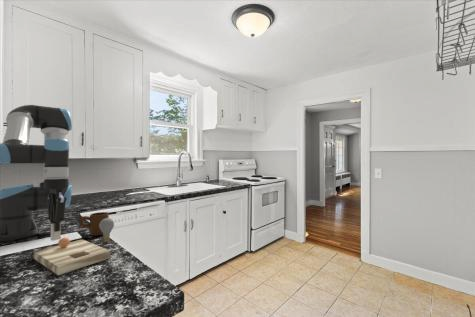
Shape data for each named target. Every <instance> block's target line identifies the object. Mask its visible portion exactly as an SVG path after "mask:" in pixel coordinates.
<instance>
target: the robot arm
mask: <svg viewBox="0 0 475 317" xmlns="http://www.w3.org/2000/svg"><path fill="white" fill-rule="evenodd" d="M5 121H6V124H7V126H6V130H5V134H4V136H3V140H2V142H0V164H7V165H8V164H9V165H10V164H43V170H42V173H43V179H42V180H41V181H40V182H39V184H38V185H39V186H35V185H34V184H33V183H29V184H20V185H14V186H13V185H12V186H7V187H6V186H5V187H2V188H0V242H8V241H13V240H14V241H17V240H20V239H25V238H30V237H32V236H36V234H38V226H37V224H36V221H35V219H34V212H40V211H41V212H42V211H47V214H48V215H47V216H48V221H49V223H50V241H52V242H53V241H56V240H58V241H59V240H60V239H62V238H61V234H62V226H61V225H62V222H63V221H64V220H65V211H66V210H65V209H66V208H68V207H69V206H70V203H71V199H72V195H73V194H72V193H73V185H72V184H70V183H69V176H70V168H69V167H70V166H69V160H70V159H69V158H70V145H69V144H70V143H69V140H68V139H66V136H67V135H68V134H69V132H70V131H72V129H73V124H72V122H73V121H72V116H71V113H70V111H69V110H68V109H66V108H60V107H52V106H43V105H35V104H26V105H25V104H24V105H21V106H17V107H16V108H14V109H12V110H11V111H9V112H8V114H7V115H6V117H5ZM32 128H33V129H34V128H35V129H40V132H41V133H42V134H43V135H44V137H43V138H44V140H43V141H44V142H43V144H42V145H41V144H29V142H30V134H31V129H32Z"/></svg>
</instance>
